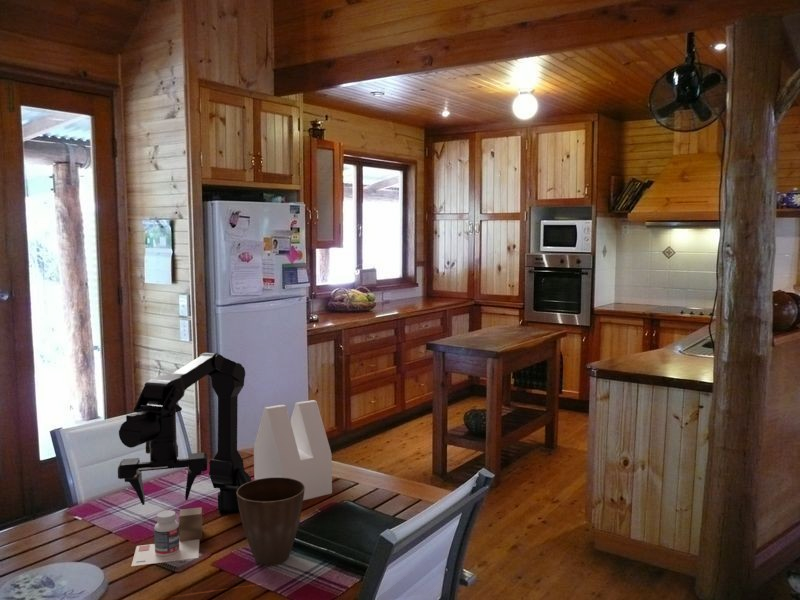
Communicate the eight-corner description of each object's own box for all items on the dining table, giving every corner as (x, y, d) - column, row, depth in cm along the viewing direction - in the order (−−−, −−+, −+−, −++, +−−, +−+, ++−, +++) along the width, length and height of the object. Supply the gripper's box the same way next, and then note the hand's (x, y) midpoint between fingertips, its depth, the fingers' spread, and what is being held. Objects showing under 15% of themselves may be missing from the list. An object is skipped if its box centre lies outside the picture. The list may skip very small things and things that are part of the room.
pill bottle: (171, 558, 145) (170, 519, 144) (150, 556, 146) (149, 517, 145) (183, 547, 150) (182, 510, 149) (163, 545, 151) (162, 508, 150)
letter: (199, 539, 154) (199, 538, 154) (198, 558, 145) (198, 557, 145) (136, 547, 151) (136, 545, 151) (131, 567, 141) (131, 565, 141)
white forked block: (332, 493, 184) (331, 407, 182) (281, 506, 175) (280, 415, 173) (301, 474, 199) (300, 394, 197) (254, 484, 191) (252, 401, 189)
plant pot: (248, 542, 153) (246, 476, 152) (310, 543, 152) (309, 477, 151) (229, 574, 138) (227, 501, 137) (299, 574, 138) (297, 502, 136)
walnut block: (202, 531, 159) (201, 507, 159) (201, 538, 154) (201, 513, 154) (181, 534, 158) (180, 509, 157) (179, 541, 153) (179, 516, 153)
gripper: (206, 422, 156) (208, 485, 157) (123, 428, 151) (125, 493, 152) (205, 435, 145) (207, 502, 146) (116, 442, 140) (118, 512, 141)
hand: (165, 502), depth 147 cm, fingers open, 9 cm apart
